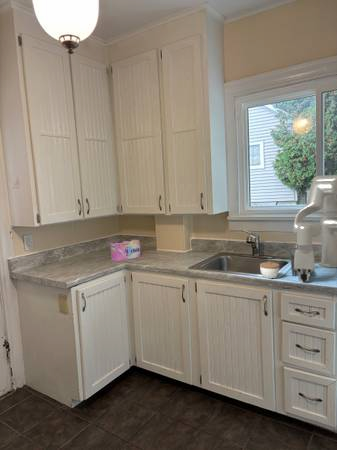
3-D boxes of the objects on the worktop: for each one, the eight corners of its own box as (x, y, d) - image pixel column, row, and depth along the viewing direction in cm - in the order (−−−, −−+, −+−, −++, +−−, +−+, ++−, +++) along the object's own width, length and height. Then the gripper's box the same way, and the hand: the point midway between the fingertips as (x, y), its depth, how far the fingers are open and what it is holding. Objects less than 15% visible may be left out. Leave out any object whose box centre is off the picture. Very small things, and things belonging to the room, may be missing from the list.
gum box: (136, 255, 271) (135, 238, 270) (142, 256, 265) (141, 239, 263) (111, 260, 256) (110, 242, 254) (116, 261, 250) (115, 244, 248)
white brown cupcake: (275, 274, 198) (275, 259, 197) (282, 279, 188) (282, 263, 187) (257, 275, 198) (257, 260, 197) (263, 280, 187) (263, 264, 186)
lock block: (298, 277, 190) (298, 268, 190) (307, 278, 189) (307, 269, 188) (298, 281, 184) (298, 271, 183) (308, 281, 182) (308, 272, 182)
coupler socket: (291, 268, 210) (291, 254, 209) (310, 269, 207) (310, 254, 206) (292, 276, 194) (292, 260, 193) (312, 276, 190) (312, 261, 189)
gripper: (289, 248, 177) (289, 282, 179) (320, 249, 172) (319, 283, 175) (289, 246, 184) (289, 278, 186) (318, 246, 179) (318, 279, 182)
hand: (303, 280), depth 181 cm, fingers closed
